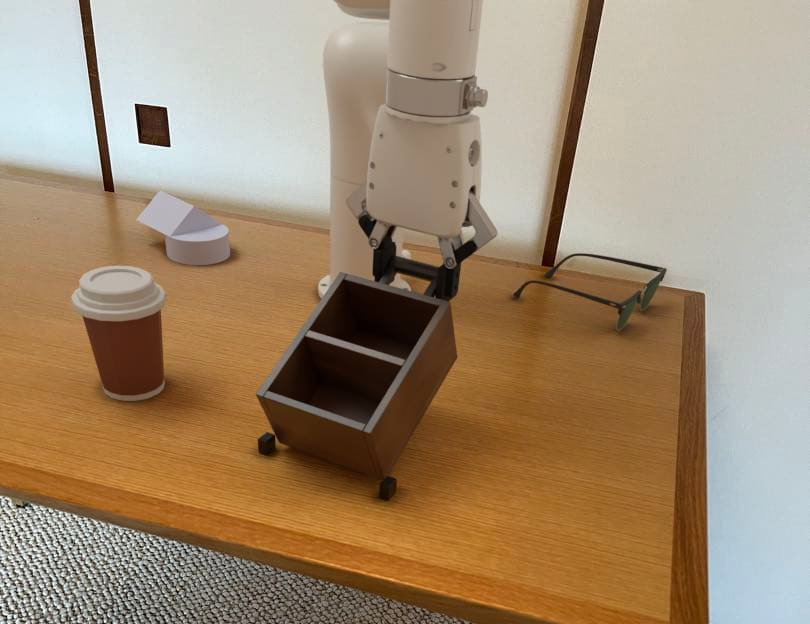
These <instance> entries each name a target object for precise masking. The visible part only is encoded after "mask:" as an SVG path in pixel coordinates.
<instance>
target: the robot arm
mask: <svg viewBox="0 0 810 624" xmlns="http://www.w3.org/2000/svg"><path fill="white" fill-rule="evenodd" d="M332 1H333V2H335V3H336V6H337V7H338V8H339V9H340V11H341V12H343V13H344V14H346V15H348V16H351V17H355V18H359V19H367V20H368V19H369V20H379V21H384V20H385V21H389V22H378V21H377V22H375V21H374V22H373V21H372V22H371V21H362V22H361V21H360V22H358V21H357V22H352V23H347V24H344V25H341V26H339V27H338V28H336V29H334V30H333V31H332V32H331V33H330V34H329V36H328V37H327V39H326V42H325V44H324V47H323V52H322V70H323V79H324V80H323V81H324V87H325V96H326V103H327V113H328V123H329V150H330V151H329V153H330V155H329V162H330V163H329V167H330V168H329V171H330V173H329V174H330V175H329V176H330V177H329V182H330V184H329V204H330V205H329V274H327V275H325V276H324V277H323V278H321V279H320V281H319V282H318V285H317V293H318V296H319V298H320V300H321V299H322V298H323V296H324V295H325V293H326V292H327V290H328V289H329V287H330V286H331V284H332V283H333V282H334V280H335V279H336V277H337V276H338V274H339V273H340V272H343V273H347V274H350V275H354V276H357V277H361V278H365V279H368V280H372V281H375V282H379V280H380V279H381V277H382V276H383V274H384V273H385V271H386V270H387V268H388V267H389V261H390V258H391V257H392V256H393V255H396V256H400V257H403V258H407V259H411V260H412V254H411V252H410V251H409V250H407V249H403V245H404V243H403V242H404V230H405V229H406V230H409V231H412V232H413V231H414V232H416V233H421V234H426V235H429V236H433V237H437V241H438V245H439V249H440V253H441V256H442V262H443V263H442V264H441V265H439V266H438V267H439V268H438V274H437V284H436V295H435V297H434V298H437V299H441V300H445V301H448V302H451V301H452V300H453V299H454V298H455V297H457V295H458V292H459V287H460V279H461V278H460V277H461V268H462V262H464V261H465V260H466V259H468V258H469V257H471V256H472V255H474V254H475V253H476V252H477V251H479V250H480V249H481V248H483V247H484V246H486V245H487V244H488V243H490V242H491V241H492V240H494V239H495V238H496V237H497V236H498V230H497V228H496V227H495V225H494V223H493V222H492V220H491V219H490V217H489V215H488V214H487V212H486V210H485V209H484V208H483V206H482V204H481V188H482V161H483V159H482V157H483V156H482V129H481V120H480V116H478V115H476V114H472V111H474V108H477V107H478V108H485V106H486V105H487V102H488V97H489V91H488V90H487V89H483V88H481V87H480V86H478V85H477V81H478V80H477V79H478V76H476V75H475V74H476V70H477V69H476V68H477V58H478V50H479V40H480V33H481V24H482V23H481V21H482V13H483V3H484V0H332ZM469 227H473V230H474V231H475V234H474V235H473V236H472V237H470V239H468V240H467V241H466V242H465V239H464V235H463V229H462V228H469ZM401 275H402V274H399V273H397V274H396V275H395V277H394V278H393V280H392V281H391V283H390V286H394V287H397V288H401V289H405V290H408V291H412V288H411V286H410V284H409V283H408V282H407V281H405V279H403V278H401V277H402V276H401Z"/></svg>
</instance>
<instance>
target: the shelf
mask: <svg viewBox="0 0 810 624" xmlns="http://www.w3.org/2000/svg"><path fill="white" fill-rule="evenodd" d="M439 267H440V266H437V265H434V264H430V263H426V262H423V261H419V260H414V259H412V258H411V259H407V258H403V257H400V256H396V255H393V256H392V257H391V258H390V261H389V267H388V268H387V270H386V271H385V273H384V274H383V276H382V277H381V279H380V280H379V282H375V281H372V280H368V279H365V278H361V277H357V276H354V275H350V274H347V273H343V272H340V273H339V274H338V276H337V277H336V279H335V280H334V282H333V283H332V284H331V286H330V287H329V289H328V290H327V292H326V293H325V295H324V296H323V298H322V299H321V298H320V300H319V302H318V303H317V305H316V306H315V308H314V309H313V311H312V312H311V313H310V315H309V316H308V317H307V319H306V321H305V322H304V323H303V325H302V326H301V328H300V329H299V331H298V332H297V334H296V335H295V337H294V338H293V339H292V341H291V342H290V344H289V345H288V347H287V348H286V350H285V351H284V352H283V354H281V355H282V356H281V357H280V358H279V359H278V361H277V362H276V364H275V365H274V367H273V368H272V370H271V371H270V372H269V374H268V375H267V377H266V379H265V380H264V381H263V382H262V384H261V386H260V387H259V389H258V390H257V391H256V393H255V396H256V398H257V400H258V402H259V405H260V406H261V408H262V411H263V413H264V415H265V417H266V419H267V421H268V423H269V425H270V427H271V429H272V431H273V434H274V435H275V438H276V440H277V441H278V443H279V444H280V445H284V446H286V447H289V448H292V449H294V450H297V451H299V452H302V453H305V454H308V455H311V456H313V457H316V458H319V459H322V460H324V461H327V462H330V463H333V464H335V465H338V466H340V467H344V468H347V469H348V470H352V471H354V472H356V473H359V474H363V475H365V476H368V477H371V478H373V479H376V480H379V481H381V482H382V481H383V480H384V479H385V478H386V477H387V476H390V474H391V473H392V471H393V469H394V468H395V466H396V464H397V462H398V460H399V458H400V457H401V455H402V454H403V452H404V450H405V449H406V447H407V445H408V443H409V441H410V440H411V438H412V436H413V435H414V433H415V431H416V429H417V428H418V426H419V424H420V423H421V421H422V419H423V417H424V416H425V414H426V412H427V410H428V409H429V407H430V405H431V404H432V402H433V400H434V399H435V397H436V395H437V393H438V392H439V390H440V388H441V387H442V385H443V383H444V381H445V380H446V378H447V376H448V374H449V373H450V371H451V369H452V367H453V366H454V364H455V363H456V361H457V359H458V353H457V351H458V350H457V343H456V334H455V327H454V321H453V320H454V319H453V311H452V303H451V301H449V302H448V301H445V300H441V299H437V298H435V295H436V284H437V274H438V268H439ZM397 273H399V274H401V275H403V276H406V277H410V278H414V279H417V280H421V281H424V282H429V284H428V286H427V287H426V289H425V291H424V292H423V293H419V292H415V291H412V290H411V291H408V290H405V289H401V288H397V287H394V286H390V283H391V281H392V280H393V278H394V277H395V275H396V274H397Z"/></svg>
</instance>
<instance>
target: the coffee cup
mask: <svg viewBox="0 0 810 624" xmlns="http://www.w3.org/2000/svg"><path fill="white" fill-rule="evenodd" d="M78 284H79V287H77V288H76V289H75V290H74V292H73V293H72V295H71V297H70V300H71V305H72V307H73V310H74V311H75V312H76V313H77V314H79V315H81V316H82V320H83V323H84V326H85V329H86V333H87V337H88V340H89V343H90V347H91V350H92V353H93V357H94V361H95V364H96V368H97V371H98V374H99V378H100V382H101V386H102V389H103V392H104V394H105V395H107V396H108V397H110V398H111V399H114V400H118V401H122V402H123V401H125V402H136V401H143V400H147V399H150V398H152V397H156V396H157V395H159V394H160V393H161V392H162V391H163V390H164V387H165V386H166V381H165V367H164V366H165V365H164V345H163V325H162V324H163V323H162V309H164V307H165V305H166V303H167V293H166V292H165V290H164V289H163V287H162V286H161V285H159V284H158V283H156V281H154V277H153V276H152V274H151V273H150V272H149V271H147V270H145V269H143V268H141V267H136V266H131V265H109V266H101V267H98V268H95V269H91V270H89V271H87V272H85V273H84V274H83V275H81V277H80V279H79V281H78Z"/></svg>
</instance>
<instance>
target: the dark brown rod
mask: <svg viewBox="0 0 810 624" xmlns="http://www.w3.org/2000/svg"><path fill="white" fill-rule="evenodd" d="M276 443H277V442H276V435H275V433H271V432H268V431H267V432H265V433H264V434H262V435H261V436H260V437H257V449H258V450H257V451H258V453H259V454H261V455H264V456H268V455H269V454H271V453H272V452H273V451H274V450H275V449H276V448H277V445H276ZM397 483H398V479H397V478H395V477H393V476H391V475H389V476H387V477H386V478H385V479H384V480H383V481H382V480H381V482H380V483H379V485H378V486H379V490H378V498H379V499H382V500H384V501H387V502H388V501H390V499H391V498H392V497H393V496H394V495H395V494H396V493H397Z"/></svg>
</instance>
